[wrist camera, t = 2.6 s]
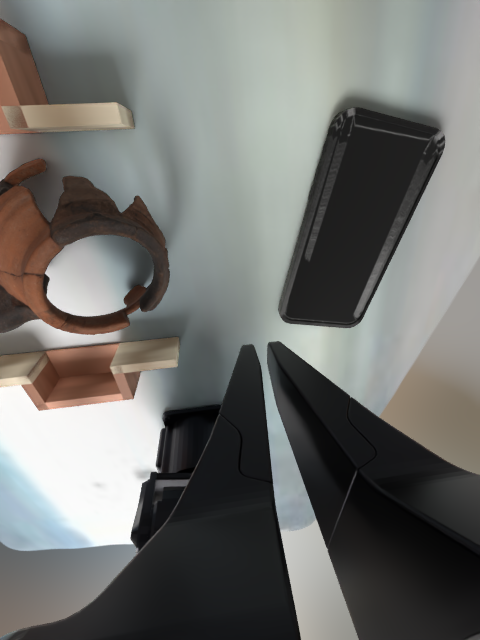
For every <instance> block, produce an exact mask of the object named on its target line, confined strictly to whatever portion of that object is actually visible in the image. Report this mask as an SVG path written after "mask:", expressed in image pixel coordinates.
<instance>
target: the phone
mask: <svg viewBox="0 0 480 640" xmlns="http://www.w3.org/2000/svg"><path fill="white" fill-rule="evenodd" d="M444 148H445V136H444V134H443V132H442V131H441V130H439V129H437V128H434V127H430V126H426V125H422V124H419V123H415V122H411V121H407V120H404V119H400V118H396V117H392V116H389V115H385V114H381V113H377V112H374V111H370V110H366V109H362V108H354V107H353V108H350V109H347V110H344V111H342V112H340V113H339V114H338V115H337V116H336V117H335V118H334V120H333V121H332V123H331V125H330V128H329V131H328V134H327V138H326V141H325V144H324V147H323V151H322V154H321V159H320V162H319V165H318V168H317V171H316V175H315V178H314V184H313V186H312V188H311V192H310V195H309V201H308V205H307V208H306V212H305V215H304V219H303V222H302V226H301V230H300V233H299V237H298V240H297V244H296V247H295V251H294V254H293V258H292V261H291V265H290V268H289V272H288V275H287V279H286V282H285V286H284V290H283V293H282V297H281V300H280V304H279V308H278V311H279V314H280V316H281V318H282V320H283V321H285V322H286V323H290V324H302V325H314V326H327V327H339V328H351V327H354V326H356V325H357V324H359V323H360V322H361V320H362V319H363V317H364V315H365V313H366V310H367V308H368V306H369V304H370V302H371V300H372V298H373V296H374V294H375V292H376V290H377V288H378V286H379V284H380V282H381V279H382V277H383V275H384V273H385V271H386V269H387V267H388V265H389V263H390V261H391V259H392V257H393V255H394V253H395V251H396V248H397V246H398V244H399V242H400V240H401V238H402V236H403V234H404V232H405V230H406V228H407V226H408V224H409V222H410V220H411V217H412V215H413V213H414V211H415V209H416V207H417V205H418V203H419V201H420V199H421V197H422V195H423V193H424V191H425V189H426V186H427V184H428V182H429V180H430V178H431V176H432V174H433V172H434V170H435V168H436V166H437V164H438V162H439V160H440V157H441V155H442V153H443V150H444Z"/></svg>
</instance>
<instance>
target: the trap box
mask: <svg viewBox="0 0 480 640" xmlns="http://www.w3.org/2000/svg"><path fill="white" fill-rule="evenodd" d="M116 129H135V127H134V122H133V117H132V112H131V111H130V110H129V109H127V108H125V107H124V106H122V105H120V104H119V103H117V102H115V103H85V104H55V105H49V104H48V101H47V98H46V95H45V92H44V89H43V86H42V83H41V80H40V77H39V74H38V71H37V68H36V65H35V62H34V59H33V57H32V54H31V51H30V48H29V45H28V42H27V39H26V36H25V35H24V34H23V33H21V32H20V31H18V30H17V29H15V28H14V27H12V26H11V25H9V24H8V23H6V22H5V21H3V20H2V19H0V134H20V133H44V132H68V131H92V130H116ZM179 349H180V341H179V337H171V338H162V339H153V340H143V341H134V342H124V343H115V344H105V345H96V346H87V347H77V348H68V349H58V350H49V351H39V352H30V353H21V354H11V355H2V356H0V387H7V386H16V385H21V386H22V387H23V388H24V390H25V391H26V393H27V394H28V396H29V397H30V398H31V400H32V401H33V403H34V404H35V406H36V407H37V408H38V410H39V411H40V410H48V409H56V408H64V407H72V406H80V405H88V404H96V403H104V402H113V401H121V400H129V399H134V395H135V391H136V388H137V384H138V381H139V377H140V372H139V371H146V370H155V369H163V368H172V367H178V358H179Z"/></svg>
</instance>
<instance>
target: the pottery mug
mask: <svg viewBox="0 0 480 640" xmlns="http://www.w3.org/2000/svg"><path fill="white" fill-rule="evenodd" d="M45 171H46V162H45V161H44V160H43V159H36V160H33V161H31V162H28V163H25V164H23V165H21V166H20V167H19V168H17V169H15V170H14V171H12V172H10V173H9V174H8V175H7V176H6V178H5V179H3V180H1V182H0V333H5V332H8V331H11V330H14V329H16V328H18V327H19V326H21V325H22V324H24V323H25V322H28V321H30V320H35V319H42V320H43V321H44V322H45V323H47V324H49V325H51V326H52V327H54V328H56V329H61V330H63V331H67V332H71V333H77V334H86V335H88V334H90V335H95V334H104V333H109V332H114V331H117V330H120V329H123V328H125V327H127V326H129V325H130V322H129V318H128V317H127V315H129V314H130V313H132V312H134V311H136V310H137V309H138V308H139V307H140V309H141V311H142V312H147V311H151V310H153V309H154V308H156V306H157V305H158V304H159V303H160V301H161V300H162V298H163V295H164V294H165V292H166V290H167V287H168V283H169V277H170V271H169V269H168V268H169V262H168V251H167V248H165V238H164V236H163V234H162V232H161V230H160V229H159V227H158V226H157V225H156V223H155V221H154V220H153V218H152V216H151V214H150V213H149V211H148V209H147V207H146V205H145V204H144V202H143V201H142V199H141V198H140V197H139V196H135V198H134V202H133V203H132V204H131V205H130V206H129V207H128V208H127V209H126V210H125V211H124V212H122V213H120V212H119V210H118V208H117V206H116V204H115V202H114V201H113V200H112V199H111V198H110V197H109V196H108V195H107V194H106V193H104V192H103V191H101V190H99V189H97V188H96V187H94V185H93V184H92V183H91V182H90V181H89V180H88V179H86V178H84V177H75V176H66V177H64V178H63V179H62V182H63V188H64V192H63V194H62V195H61V197H60V199H59V204H58V208H57V210H56V212H55V214H54V217H53V219H52V221H51V223H50V222H49V221H48V220H47V219H46V218H45V217H44V215H43V214H42V213H41V211H40V210H39V208H38V206H37V204H36V201H35V198H34V195H33V194H32V192H31V191H30V190H29V189H28V188H25V187H23V186H18V185H19V184H20V183H21V182H22V181H24V180H26V179H28V178H30V177H32V176H35V175H37V174H40V173H42V172H45ZM95 235H117V236H123V237H128V238H131V239H132V240H134V241H136V242H138V243H140V244H141V245H142V246H143V247H145V248H146V249H147V250H148V252H149V253H150V255H151V257H152V260H153V263H154V275H153V279H152V282H151V284H150V285H149V286H148V287H147V288H146V287H144V286H141V285H136V286H135V287H134V288H133V289H132V290H130V291H129V293H128V294H127V295H126V296H125V298H124V303H125V304H126V305H127V307H126V308H124V309H122V310H119V311H117V312H114V313H111V314H106V315H100V316H93V317H84V316H76V315H71V314H69V313H65V312H63V311H61V310H59V309H58V308H56V307H55V306H54V305H53V304H52V303H51V302H50V301H49V300H48V298H47V296H46V294H47V286H48V282H49V277H48V276H47V275H46V274H45V271H46V269H47V267H48V265H49V263H50V262H51V260H52V259H53V258H54V257H55V256H56V255H57V254H58V253H59V252H60V251H61V250H62V249H63V248H64V246H65V245H68V244H71V243H73V242H75V241H77V240H80V239H82V238H85V237H89V236H95Z"/></svg>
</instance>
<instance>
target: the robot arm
mask: <svg viewBox="0 0 480 640" xmlns="http://www.w3.org/2000/svg"><path fill="white" fill-rule="evenodd" d="M267 364H268V369H269V374H270V379H271V383H272V388H273V392H274V397H275V401H276V405H277V408H278V411H279V414H280V417H281V419H282V422H283V425H284V428H285V431H286V434H287V436H288V439H289V442H290V445H291V448H292V451H293V453H294V456H295V459H296V462H297V465H298V468H299V470H300V473H301V476H302V479H303V482H304V485H305V488H306V490H307V493H308V496H309V499H310V502H311V505H312V507H313V510H314V513H315V516H316V519H317V521H318V524H319V527H320V530H321V533H322V536H323V539H324V541H325V544H326V547H327V549H328V553H329V556H330V559H331V562H332V564H333V567H334V570H335V573H336V576H337V579H338V581H339V584H340V587H341V590H342V593H343V596H344V598H345V601H346V604H347V607H348V610H349V613H350V616H351V618H352V621H353V624H354V627H355V630H356V632H357V635H358V638H359V640H480V475H478V474H475V473H472V472H469V471H466V470H464V469H462V468H459V467H457V466H455V465H453V464H451V463H449V462H447V461H446V460H444V459H442V458H441V457H439V456H438V455H436V454H434V453H433V452H431V451H430V450H428V449H426V448H425V447H424V446H422V445H421V444H419V443H417V442H416V441H414V440H413V439H411V438H410V437H408V436H407V435H405V434H403V433H402V432H400V431H399V430H397V429H396V428H394V427H393V426H391V425H390V424H388V423H387V422H385V421H384V420H382V419H381V418H379V417H378V416H376V415H375V414H374V413H372V412H371V411H370V410H368V409H367V408H365V407H364V406H363V405H361V404H360V403H359V402H358V401H356V400H355V399H354V398H352V397H351V398H350V395H348V394H347V393H346V392H344V391H343V390H342V389H341V388H339V387H338V386H337V385H335V384H334V383H333V382H331V381H330V380H329V379H328V378H326V377H325V376H324V375H322V374H321V373H320V372H318V371H317V370H316V369H315V368H313V367H312V366H311V365H309V364H308V363H307V362H305V361H304V360H303V359H302V358H300V357H299V356H298V355H296V354H295V353H294V352H293V351H291V350H290V349H289V348H287V347H286V346H285V345H283V344H282V343H281V342H279V341H276V342H269V343H268V345H267ZM163 421H164V425H165V428H163V429H162V430H161V433H160V440H159V447H158V453H157V460H156V467H157V470H158V472H159V473H157V472H151V475H150V479H148V481H146V482H144V483H142V488H141V494H140V499H139V504H138V508H137V512H136V516H135V520H134V524H133V527H132V532H131V541H132V542H133V543H134V545H135V546H136V553H137V554H136V556H135V557H134V558H133V559H132V560H131V561H130V562H129V563H128V564H127V566H125V568H124V569H123V570H122V571H121V572H120V573H119V574H118V575H117V576H116V577H115V578H114V580H113V581H112V582H111V583H110V584H109V585H108V586H107V587H106V588H105V589H104V591H102V592H101V593H100V594H99V595H98V597H96V598H95V599H94V600H93V601H92V602H91V603H89V604H88V605H87V606H86V607H84V608H83V609H81V610H80V611H78V612H76V613H75V614H73V615H71V616H69V617H67V618H65V619H62V620H59V621H56V622H53V623H47V624H42V625H37V626H31V627H28V628H23V629H19V630H16V631H13V632H10V633H8V634H6V635H4V636H2V637H1V638H0V640H301V637H300V632H299V626H298V621H297V615H296V610H295V605H294V600H293V595H292V590H291V584H290V579H289V574H288V569H287V564H286V559H285V553H284V548H283V543H282V539H281V533H280V528H279V522H278V517H277V512H276V505H275V498H274V489H273V479H272V469H271V459H270V449H269V439H268V429H267V420H266V410H265V400H264V390H263V380H262V370H261V365H260V362H259V359H258V356H257V353H256V351H255V348H254V345H252V344H249V345H243V346H242V347H241V349H240V352H239V355H238V358H237V361H236V364H235V367H234V370H233V373H232V376H231V379H230V382H229V385H228V388H227V391H226V394H225V396H224V399H223V402H222V405H217V406H209V407H202V408H194V409H186V410H178V411H170V412H165V413H164V414H163Z"/></svg>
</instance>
